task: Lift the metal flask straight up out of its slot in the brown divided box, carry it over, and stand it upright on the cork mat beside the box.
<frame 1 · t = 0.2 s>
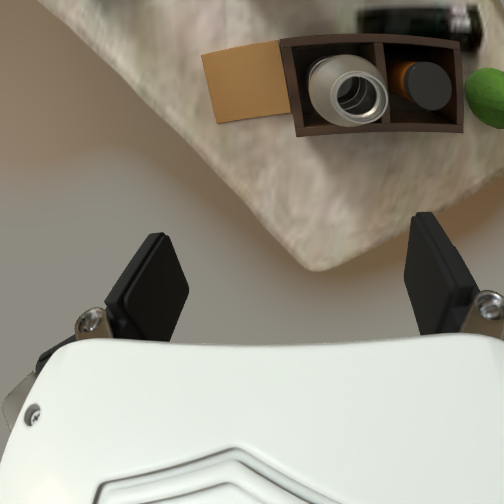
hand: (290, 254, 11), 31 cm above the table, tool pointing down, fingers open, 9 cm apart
metal flask: (330, 79, 33), resting in brown divided box
fruit: (475, 91, 29), on the table
brown divided box: (367, 77, 32), on the table
cork mat: (246, 81, 35), on the table
spice jar: (401, 78, 31), resting in brown divided box
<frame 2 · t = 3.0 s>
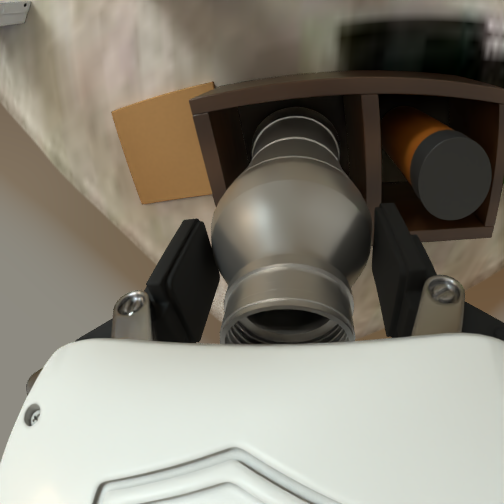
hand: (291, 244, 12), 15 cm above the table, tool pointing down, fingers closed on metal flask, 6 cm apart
metal flask: (295, 139, 24), resting in brown divided box, touching gripper
walkman: (10, 14, 16), on the table
brown divided box: (352, 135, 23), on the table
cork mat: (173, 147, 26), on the table
spice jar: (405, 133, 22), resting in brown divided box
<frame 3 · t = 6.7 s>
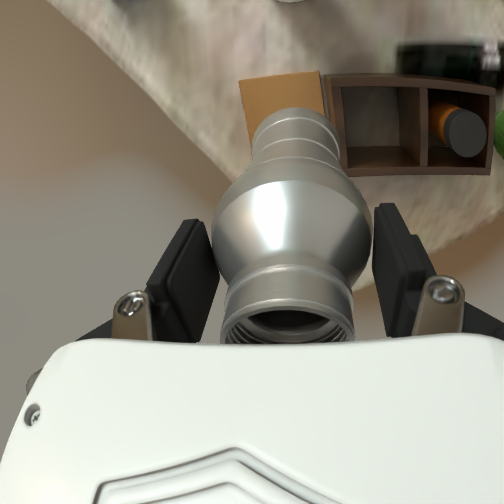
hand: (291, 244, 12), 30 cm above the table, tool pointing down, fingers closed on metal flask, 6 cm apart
metal flask: (295, 139, 24), point 14 cm above the table, touching gripper
fruit: (499, 127, 30), on the table
brown divided box: (402, 113, 33), on the table
cork mat: (284, 111, 36), on the table
spice jar: (433, 115, 32), resting in brown divided box
when the fingers open (16 cm above the table, at t = 10.4 s): metal flask stays where it is, resting on cork mat.
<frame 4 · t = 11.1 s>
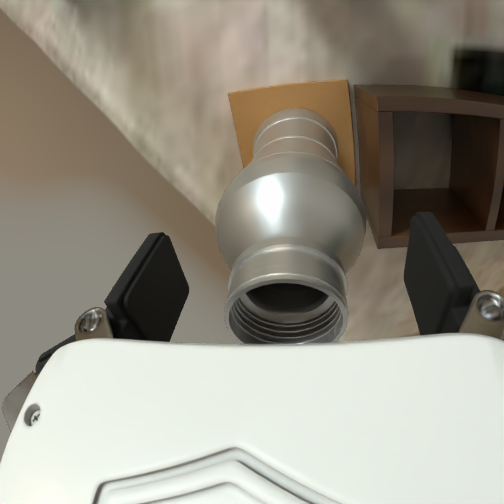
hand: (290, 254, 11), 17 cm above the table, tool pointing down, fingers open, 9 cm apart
metal flask: (295, 139, 25), resting on cork mat
brown divided box: (456, 145, 22), on the table
cork mat: (295, 139, 25), on the table
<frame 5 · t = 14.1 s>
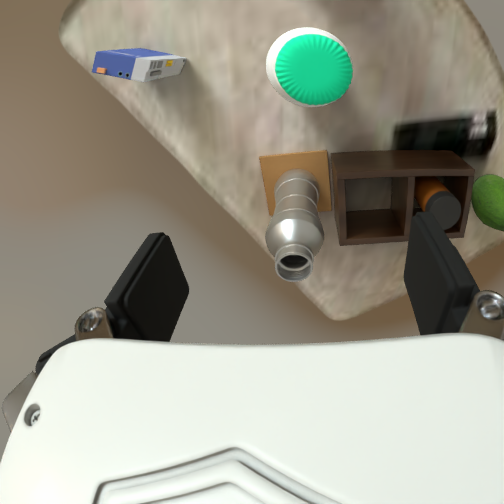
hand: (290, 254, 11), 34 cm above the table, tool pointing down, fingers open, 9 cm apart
metal flask: (297, 183, 45), resting on cork mat
walkman: (160, 60, 36), on the table
fruit: (480, 187, 40), on the table
water bottle: (304, 64, 35), on the table
brown divided box: (394, 183, 43), on the table
cork mat: (297, 183, 46), on the table
spice jar: (421, 182, 42), resting in brown divided box
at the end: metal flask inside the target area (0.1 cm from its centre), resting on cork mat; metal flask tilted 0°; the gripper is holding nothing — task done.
